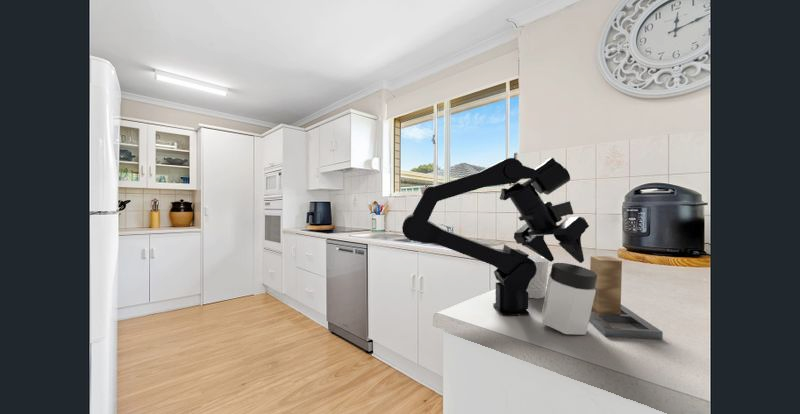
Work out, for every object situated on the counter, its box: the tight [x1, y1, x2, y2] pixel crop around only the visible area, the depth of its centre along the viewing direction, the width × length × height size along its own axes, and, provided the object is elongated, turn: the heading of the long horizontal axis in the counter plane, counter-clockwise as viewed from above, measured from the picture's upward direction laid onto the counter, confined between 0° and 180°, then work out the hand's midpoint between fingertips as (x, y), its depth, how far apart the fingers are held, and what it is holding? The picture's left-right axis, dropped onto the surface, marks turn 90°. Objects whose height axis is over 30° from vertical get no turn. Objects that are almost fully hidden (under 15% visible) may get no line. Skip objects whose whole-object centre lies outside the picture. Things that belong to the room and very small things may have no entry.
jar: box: [541, 262, 597, 336], centre depth 65 cm, size 9×8×12 cm
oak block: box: [589, 255, 623, 314], centre depth 72 cm, size 4×4×13 cm
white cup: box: [526, 255, 550, 299], centre depth 86 cm, size 8×8×10 cm
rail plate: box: [589, 304, 664, 341], centre depth 72 cm, size 10×23×2 cm, turn 171°
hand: (566, 261), depth 74 cm, fingers open, 9 cm apart
